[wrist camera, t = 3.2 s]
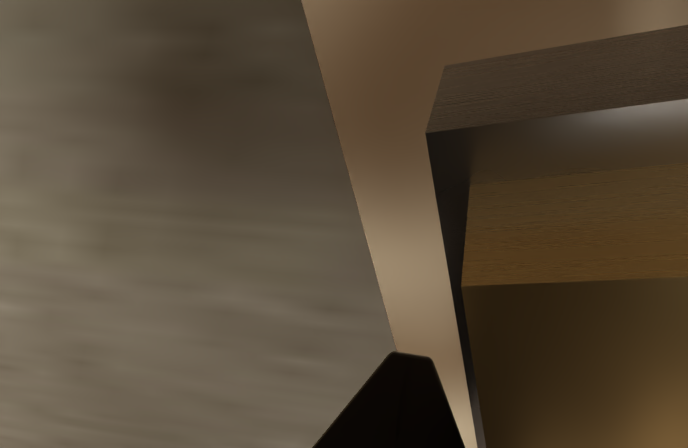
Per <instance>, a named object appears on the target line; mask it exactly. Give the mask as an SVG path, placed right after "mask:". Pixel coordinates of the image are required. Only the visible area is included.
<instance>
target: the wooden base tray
mask: <svg viewBox="0 0 688 448" xmlns="http://www.w3.org/2000/svg"><path fill="white" fill-rule="evenodd" d="M301 1H302V5H303V8H304V12H305V16H306V19H307V23H308V27H309V30H310V34H311V38H312V41H313V45H314V49H315V52H316V56H317V60H318V63H319V67H320V71H321V74H322V78H323V82H324V85H325V89H326V93H327V96H328V100H329V104H330V107H331V111H332V115H333V118H334V122H335V126H336V129H337V133H338V137H339V140H340V144H341V148H342V151H343V155H344V159H345V162H346V166H347V170H348V173H349V177H350V181H351V184H352V188H353V192H354V195H355V199H356V203H357V206H358V210H359V214H360V217H361V221H362V225H363V228H364V232H365V236H366V239H367V243H368V247H369V250H370V254H371V258H372V261H373V265H374V269H375V272H376V276H377V280H378V283H379V287H380V291H381V294H382V298H383V302H384V305H385V309H386V313H387V316H388V320H389V324H390V327H391V331H392V335H393V338H394V342H395V346H396V349H397V352H404V353H410V354H416V355H422V356H428V357H430V358H431V359H432V360H433V362H434V364H435V367H436V370H437V372H438V375H439V378H440V380H441V383H442V386H443V389H444V391H445V394H446V397H447V399H448V402H449V405H450V408H451V410H452V413H453V416H454V418H455V421H456V424H457V427H458V429H459V432H460V435H461V437H462V440H463V443H464V445H465V448H477V442H476V436H475V430H474V424H473V418H472V412H471V406H470V400H469V394H468V388H467V382H466V376H465V370H464V364H463V358H462V352H461V346H460V340H459V334H458V328H457V322H456V316H455V310H454V304H453V297H452V291H451V285H450V279H449V273H448V267H447V261H446V255H445V249H444V243H443V237H442V231H441V225H440V219H439V213H438V207H437V201H436V195H435V189H434V183H433V177H432V171H431V165H430V159H429V153H428V147H427V141H426V135H425V132H426V128H427V125H428V121H429V118H430V114H431V111H432V108H433V104H434V101H435V97H436V94H437V90H438V87H439V83H440V80H441V76H442V73H443V69H444V66H445V65H451V64H457V63H463V62H469V61H475V60H481V59H487V58H493V57H499V56H504V55H510V54H516V53H522V52H528V51H534V50H540V49H546V48H552V47H558V46H564V45H570V44H576V43H582V42H588V41H594V40H600V39H606V38H612V37H617V36H623V35H629V34H635V33H641V32H647V31H653V30H659V29H665V28H671V27H677V26H683V25H688V0H301Z"/></svg>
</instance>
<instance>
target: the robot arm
mask: <svg viewBox="0 0 688 448" xmlns="http://www.w3.org/2000/svg"><path fill="white" fill-rule="evenodd" d="M312 448H465V445H464V443H463V440H462V437H461V435H460V432H459V429H458V427H457V424H456V421H455V418H454V416H453V413H452V410H451V408H450V405H449V402H448V399H447V397H446V394H445V391H444V389H443V386H442V383H441V380H440V378H439V375H438V372H437V370H436V367H435V364H434V362H433V360H432V359H431V358H430V357H428V356H422V355H416V354H410V353H404V352H397V351H393V352H391V353H390V354H389V355H388V356H387V357H386V358H385V359H384V361H383V362H382V363H381V364H380V365H379V367H378V368H377V369H376V370H375V372H374V373H373V374H372V375H371V376H370V378H369V379H368V380H367V381H366V383H365V384H364V385H363V386H362V387H361V389H360V390H359V391H358V392H357V394H356V395H355V396H354V397H353V398H352V400H351V401H350V402H349V403H348V405H347V406H346V407H345V408H344V409H343V411H342V412H341V413H340V414H339V416H338V417H337V418H336V419H335V420H334V422H333V423H332V424H331V425H330V427H329V428H328V429H327V430H326V432H325V433H324V434H323V435H322V436H321V438H320V439H319V440H318V441H317V443H316V444H315V445H314V446H313V447H312Z"/></svg>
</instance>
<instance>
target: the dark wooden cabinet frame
mask: <svg viewBox="0 0 688 448" xmlns="http://www.w3.org/2000/svg"><path fill="white" fill-rule="evenodd" d="M425 135H426V141H427V147H428V153H429V159H430V165H431V171H432V177H433V183H434V189H435V195H436V201H437V207H438V213H439V219H440V225H441V231H442V237H443V243H444V249H445V255H446V261H447V267H448V273H449V279H450V285H451V291H452V297H453V304H454V310H455V316H456V322H457V328H458V334H459V340H460V346H461V352H462V358H463V364H464V370H465V376H466V382H467V388H468V394H469V400H470V406H471V412H472V418H473V424H474V430H475V436H476V442H477V448H688V25H683V26H677V27H671V28H665V29H659V30H653V31H647V32H641V33H635V34H629V35H623V36H617V37H612V38H606V39H600V40H594V41H588V42H582V43H576V44H570V45H564V46H558V47H552V48H546V49H540V50H534V51H528V52H522V53H516V54H510V55H504V56H499V57H493V58H487V59H481V60H475V61H469V62H463V63H457V64H451V65H445V66H444V69H443V73H442V76H441V80H440V83H439V87H438V90H437V94H436V97H435V101H434V104H433V108H432V111H431V114H430V118H429V121H428V125H427V128H426V132H425Z"/></svg>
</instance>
